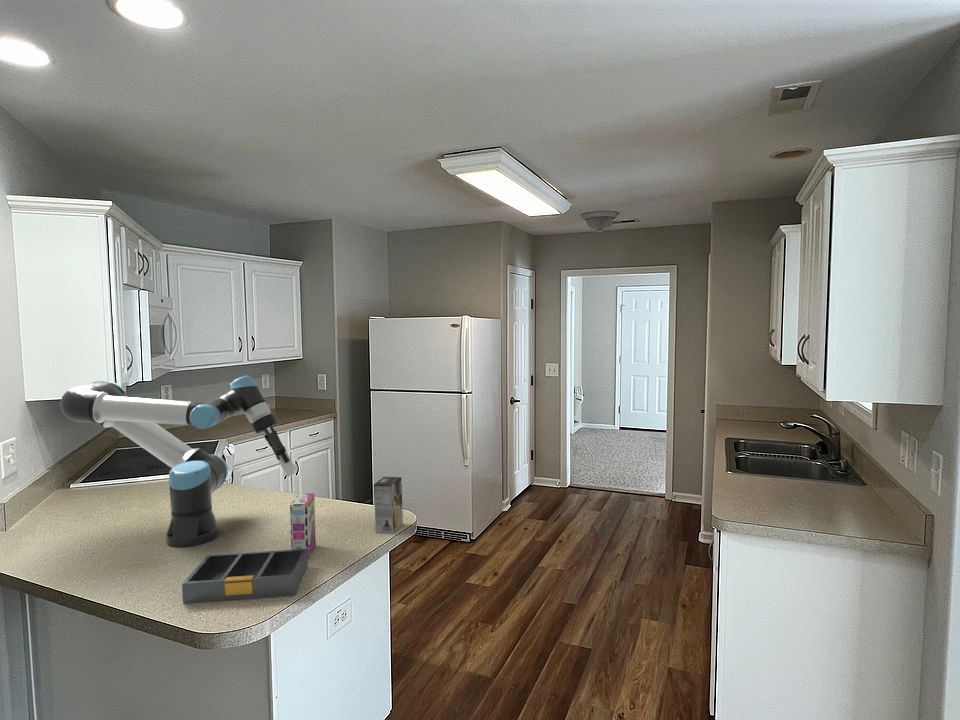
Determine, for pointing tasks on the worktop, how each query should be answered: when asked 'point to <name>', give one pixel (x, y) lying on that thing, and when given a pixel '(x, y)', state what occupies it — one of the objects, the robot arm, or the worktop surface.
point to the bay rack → (246, 576)
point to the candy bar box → (303, 522)
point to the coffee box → (388, 504)
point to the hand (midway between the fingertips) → (291, 473)
